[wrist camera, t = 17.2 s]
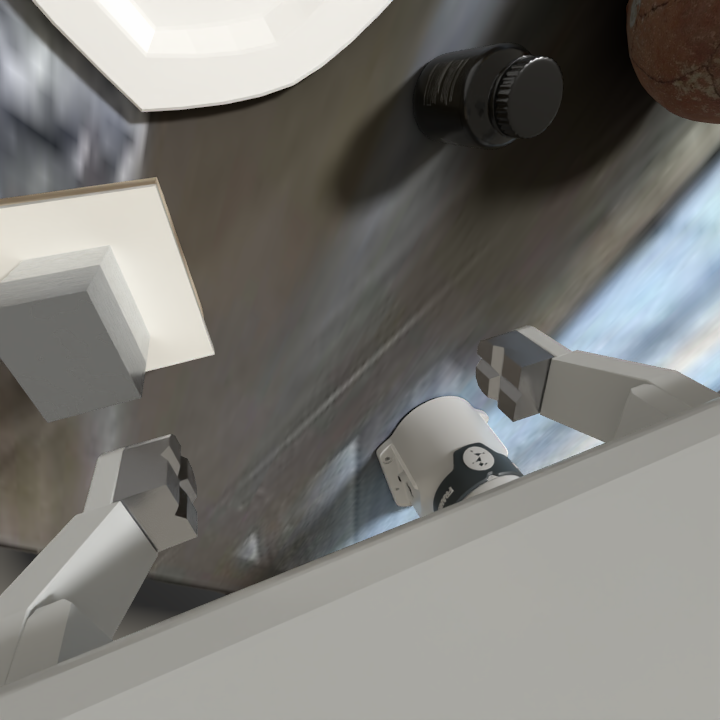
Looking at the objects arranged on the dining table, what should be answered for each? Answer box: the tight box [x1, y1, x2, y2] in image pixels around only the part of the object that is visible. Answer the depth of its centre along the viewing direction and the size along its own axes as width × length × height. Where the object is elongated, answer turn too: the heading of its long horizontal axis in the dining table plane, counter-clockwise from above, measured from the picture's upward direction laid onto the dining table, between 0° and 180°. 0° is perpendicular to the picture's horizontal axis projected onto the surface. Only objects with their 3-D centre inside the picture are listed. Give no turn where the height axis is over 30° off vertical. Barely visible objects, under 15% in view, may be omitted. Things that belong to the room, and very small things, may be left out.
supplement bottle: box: [413, 43, 564, 150], centre depth 32 cm, size 7×7×12 cm
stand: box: [0, 177, 214, 372], centre depth 30 cm, size 13×13×8 cm
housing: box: [0, 245, 150, 423], centre depth 24 cm, size 5×7×8 cm
